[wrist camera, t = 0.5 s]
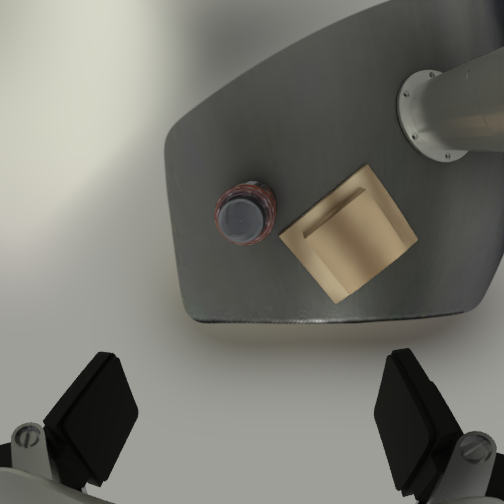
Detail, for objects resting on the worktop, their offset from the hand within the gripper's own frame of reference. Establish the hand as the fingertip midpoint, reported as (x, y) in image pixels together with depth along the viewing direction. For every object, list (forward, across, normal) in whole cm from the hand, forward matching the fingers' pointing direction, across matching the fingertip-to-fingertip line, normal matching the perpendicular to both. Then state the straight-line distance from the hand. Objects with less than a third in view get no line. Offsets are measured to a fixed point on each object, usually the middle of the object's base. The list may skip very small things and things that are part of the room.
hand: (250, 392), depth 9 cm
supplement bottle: (+29, +2, -3) cm, 30 cm away
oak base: (+29, -11, +2) cm, 31 cm away
